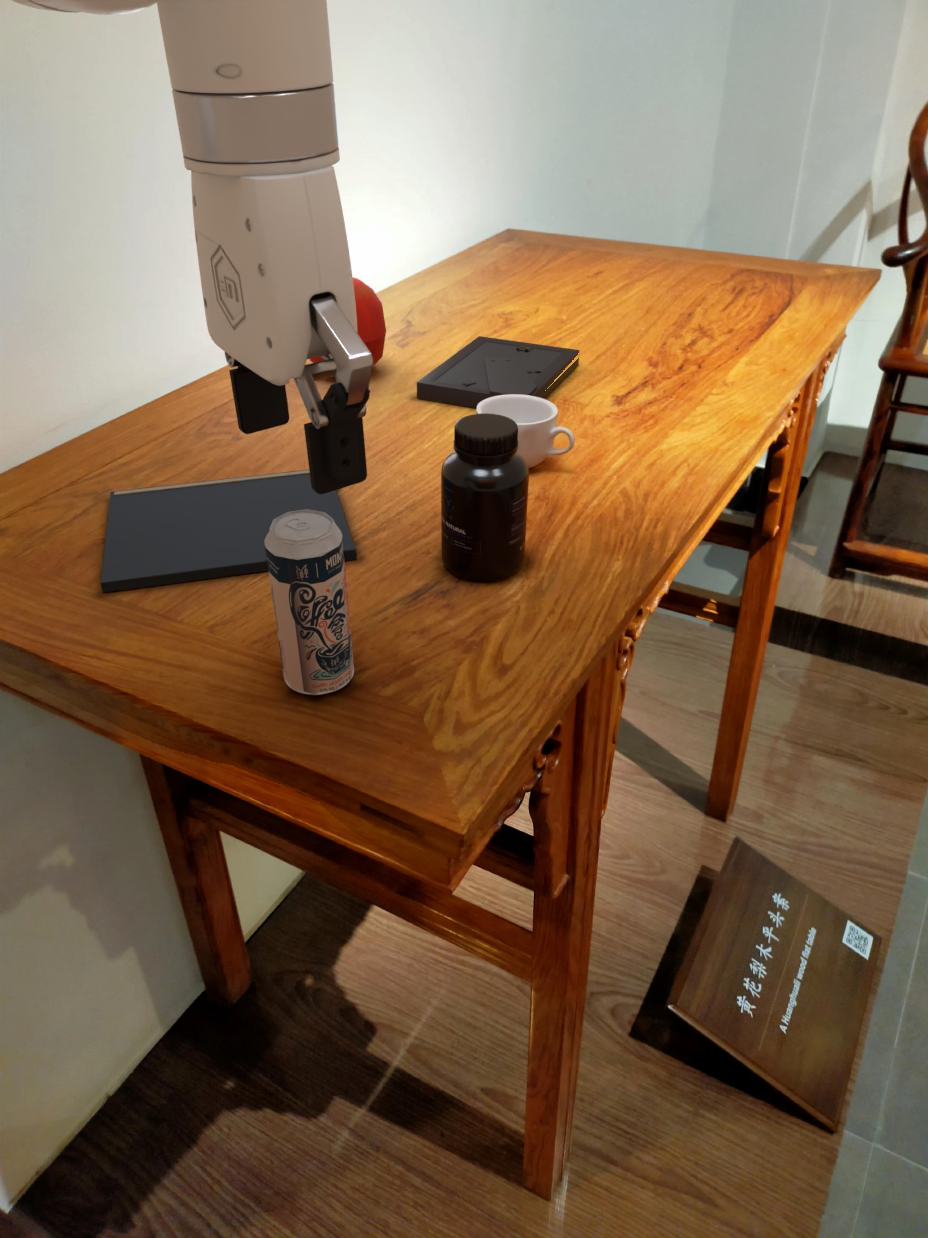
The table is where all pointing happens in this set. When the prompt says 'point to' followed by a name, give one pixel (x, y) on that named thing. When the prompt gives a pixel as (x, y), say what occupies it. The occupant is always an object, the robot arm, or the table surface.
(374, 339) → the apple
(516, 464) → the supplement bottle
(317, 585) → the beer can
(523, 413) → the teacup
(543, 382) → the picture frame
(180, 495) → the dark grey flat slab
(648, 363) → the table surface
